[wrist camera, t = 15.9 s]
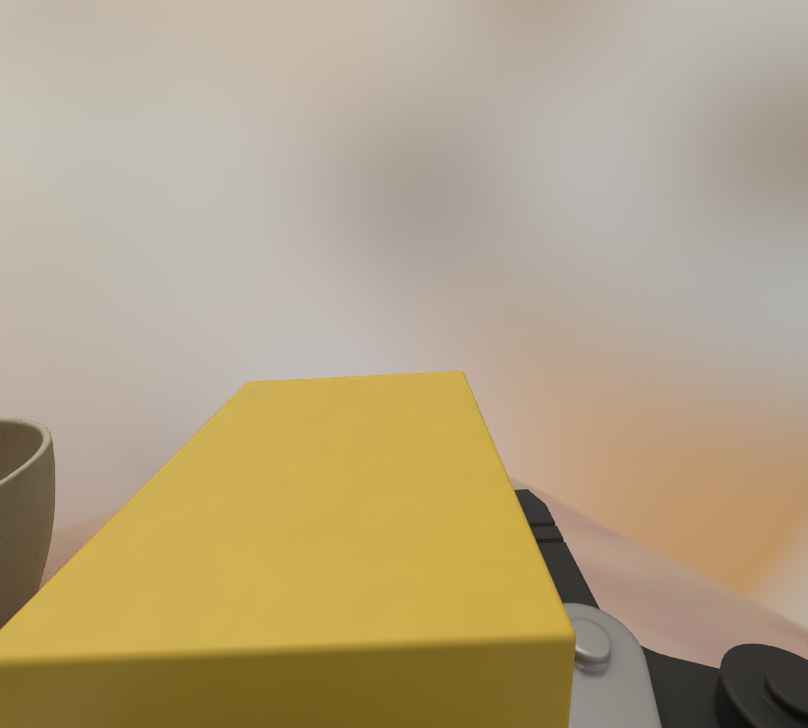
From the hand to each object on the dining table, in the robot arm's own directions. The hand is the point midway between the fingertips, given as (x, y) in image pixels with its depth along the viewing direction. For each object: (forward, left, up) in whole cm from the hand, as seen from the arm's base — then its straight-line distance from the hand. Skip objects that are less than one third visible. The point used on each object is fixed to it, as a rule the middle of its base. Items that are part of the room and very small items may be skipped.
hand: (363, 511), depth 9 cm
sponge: (-1, -3, -6) cm, 7 cm away
